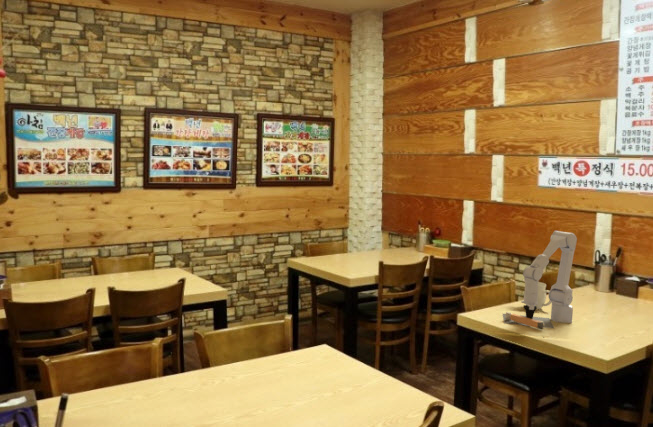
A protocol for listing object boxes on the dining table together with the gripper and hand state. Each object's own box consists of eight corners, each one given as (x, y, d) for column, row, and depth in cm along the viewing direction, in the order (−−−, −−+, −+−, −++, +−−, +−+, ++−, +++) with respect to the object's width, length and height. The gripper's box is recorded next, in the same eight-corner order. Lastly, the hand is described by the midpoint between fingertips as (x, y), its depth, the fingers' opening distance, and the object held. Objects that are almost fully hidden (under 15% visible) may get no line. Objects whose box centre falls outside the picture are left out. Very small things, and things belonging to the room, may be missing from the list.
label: (542, 322, 270) (542, 320, 270) (544, 325, 264) (544, 324, 264) (529, 320, 271) (529, 319, 271) (530, 324, 266) (530, 322, 266)
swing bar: (510, 319, 268) (510, 314, 268) (513, 319, 270) (514, 313, 270) (540, 329, 255) (541, 323, 255) (544, 328, 256) (544, 322, 256)
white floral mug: (544, 313, 289) (546, 287, 288) (514, 305, 304) (516, 280, 303) (557, 311, 296) (559, 285, 294) (527, 303, 310) (529, 278, 309)
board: (549, 320, 278) (549, 310, 277) (554, 330, 260) (554, 320, 260) (502, 315, 283) (502, 306, 283) (504, 325, 266) (504, 315, 265)
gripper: (520, 288, 271) (518, 316, 272) (523, 295, 257) (521, 324, 258) (536, 289, 269) (534, 317, 271) (539, 296, 255) (537, 326, 257)
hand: (529, 321), depth 264 cm, fingers closed
